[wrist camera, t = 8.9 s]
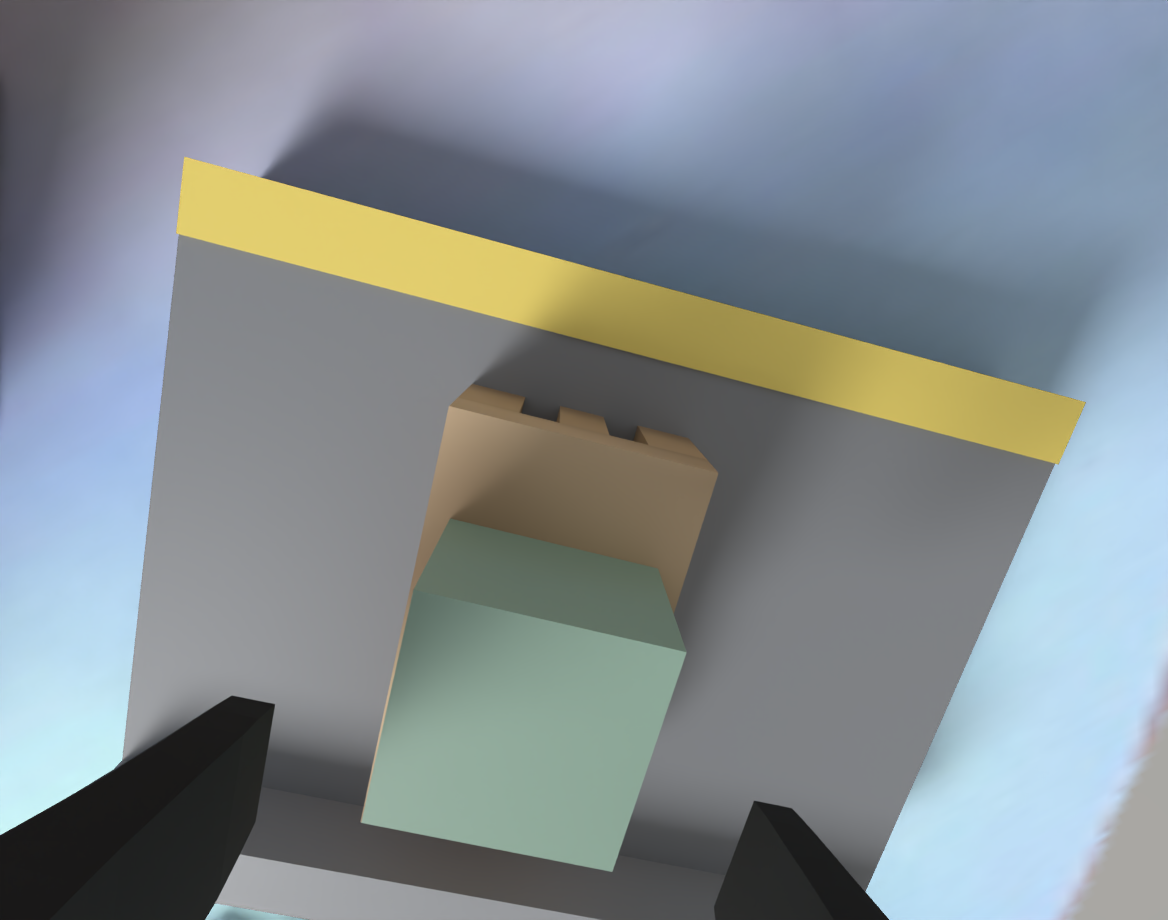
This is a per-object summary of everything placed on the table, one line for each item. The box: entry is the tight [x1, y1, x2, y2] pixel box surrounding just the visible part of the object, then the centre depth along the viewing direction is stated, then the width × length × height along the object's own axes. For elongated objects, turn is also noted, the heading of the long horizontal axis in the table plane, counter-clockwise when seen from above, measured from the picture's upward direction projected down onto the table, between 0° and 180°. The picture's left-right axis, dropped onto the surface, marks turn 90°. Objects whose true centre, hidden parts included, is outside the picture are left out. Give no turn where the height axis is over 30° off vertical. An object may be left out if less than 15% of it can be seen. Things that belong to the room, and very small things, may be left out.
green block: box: [361, 519, 687, 872], centre depth 11 cm, size 4×4×3 cm
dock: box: [116, 157, 1086, 920], centre depth 16 cm, size 16×20×5 cm
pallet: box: [360, 384, 718, 822], centre depth 14 cm, size 9×5×3 cm, turn 165°
